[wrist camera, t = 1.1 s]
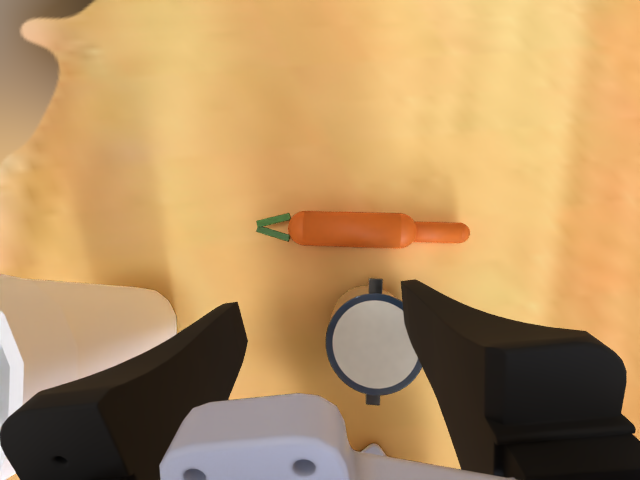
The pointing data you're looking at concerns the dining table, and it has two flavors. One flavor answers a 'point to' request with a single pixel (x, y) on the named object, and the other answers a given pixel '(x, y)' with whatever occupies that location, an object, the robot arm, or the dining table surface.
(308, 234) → the carrot
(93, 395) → the robot arm
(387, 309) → the mug
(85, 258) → the dining table surface
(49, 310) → the foam cup
